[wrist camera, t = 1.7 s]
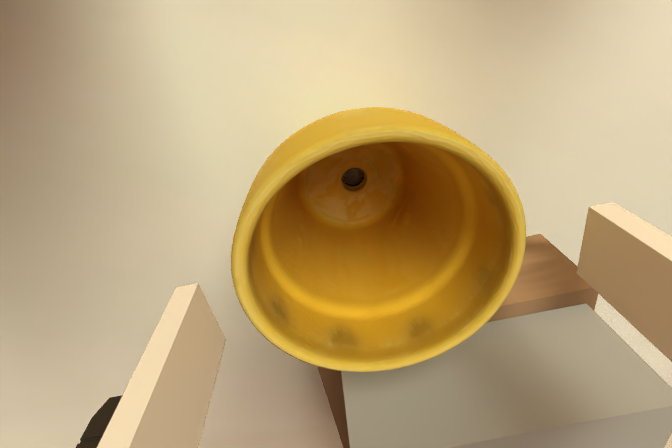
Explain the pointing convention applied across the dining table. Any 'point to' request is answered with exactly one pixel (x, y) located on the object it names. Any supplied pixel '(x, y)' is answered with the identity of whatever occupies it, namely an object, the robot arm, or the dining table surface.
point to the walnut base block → (504, 305)
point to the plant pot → (376, 241)
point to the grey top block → (516, 391)
